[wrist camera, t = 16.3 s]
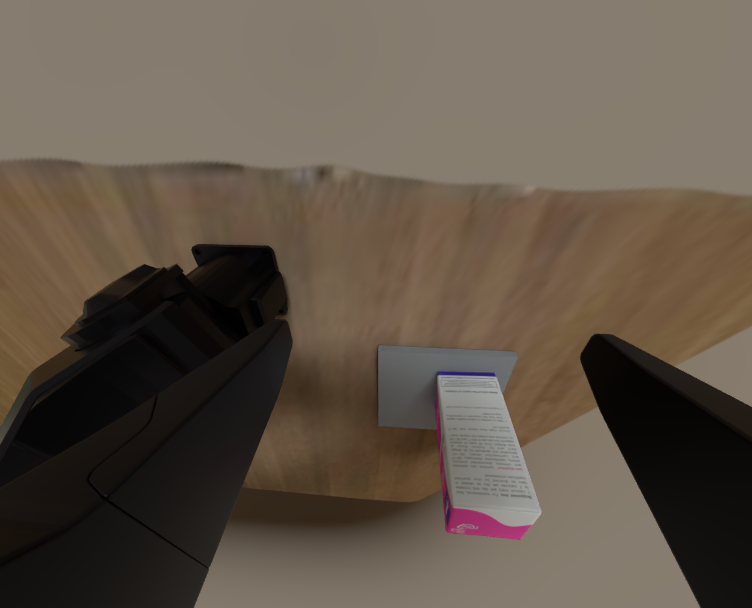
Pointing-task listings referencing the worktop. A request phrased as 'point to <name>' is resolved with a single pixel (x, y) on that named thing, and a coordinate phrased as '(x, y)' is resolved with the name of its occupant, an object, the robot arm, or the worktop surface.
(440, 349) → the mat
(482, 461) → the supplement box
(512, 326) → the worktop surface
